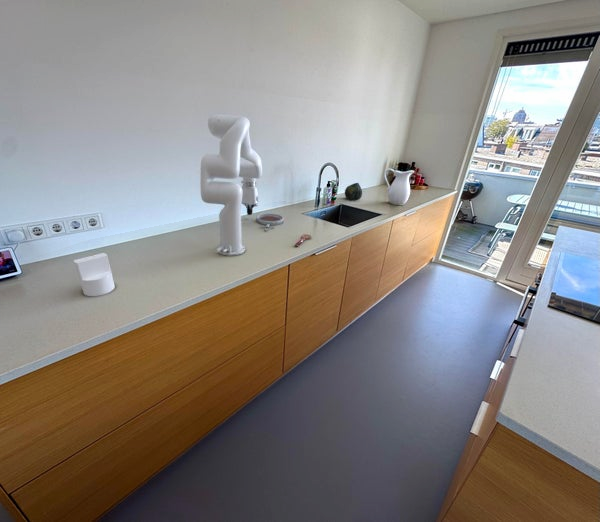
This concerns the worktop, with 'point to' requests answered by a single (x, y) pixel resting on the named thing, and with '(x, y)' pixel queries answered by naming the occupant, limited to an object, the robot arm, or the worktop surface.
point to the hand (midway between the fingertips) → (249, 214)
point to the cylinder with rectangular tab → (95, 274)
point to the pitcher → (399, 187)
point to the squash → (353, 192)
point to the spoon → (303, 239)
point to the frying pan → (269, 220)
